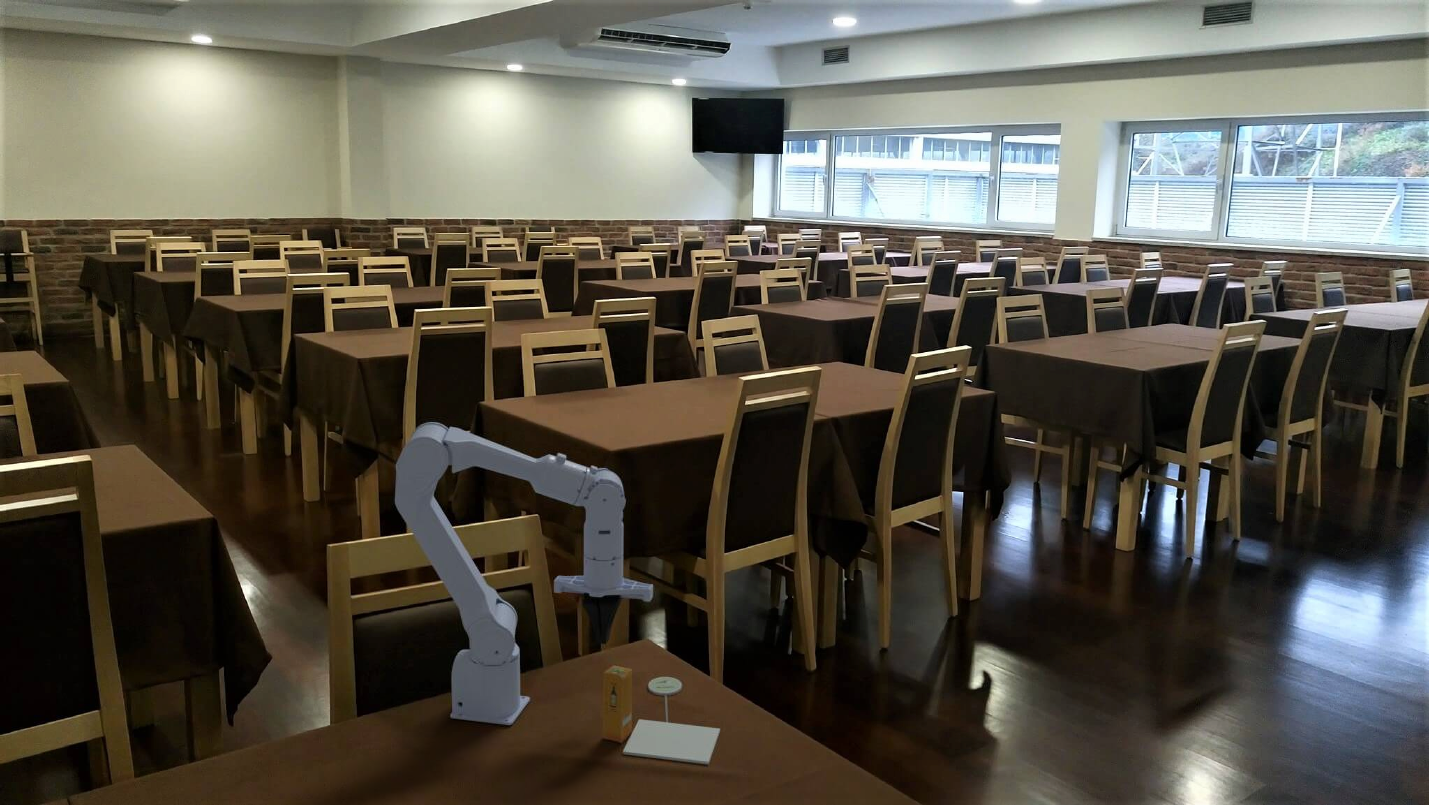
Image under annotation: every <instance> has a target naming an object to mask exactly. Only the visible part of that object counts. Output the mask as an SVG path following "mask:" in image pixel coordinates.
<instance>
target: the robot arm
mask: <svg viewBox="0 0 1429 805" xmlns="http://www.w3.org/2000/svg"><path fill="white" fill-rule="evenodd" d="M396 461H397V462H396V463H395V471H396V474H395V493H394V494H395V495H394V504H395V506H396V510H397V511H398V513H399V514H400V515H401V518H402V519H403V520H404V522H405V523H406V525H407V527H408V528H409V529H408V530H410V531H411V533H412V535H413V537H414V538H415V540H416V541H417V543H418V545H419V546H420V548H421V550H422V552H423V553H424V554H425V556H426V558H427V560H428V561H429V562H430V564H431V565H432V567H433V569H434V570H435V572H436V573H437V575H438V578H440V580H441V582H442V583H443V585H444V586H445V588H446V590H447V591H448V593H449V595H450V596H451V598H452V600H453V601H454V603H455V604H456V606H457V607H458V610H459V614H460V617H461V623H462V626H463V628H464V631H465V632H466V634H467V636H468V638H469V649H462V650H460V651H459V652H458V653H457V655H456V656H455V659H454V661H453V664H452V670H451V703H452V708H451V709H452V711H451V713H450V719H457V720H464V721H472V722H479V723H489V724H497V725H507V726H511V725H513V724H514V723H515V721H516V720H517V718H518V717H519V716H520V714H521V713H522V712H523V710H524V709H525V707H526V706H527V705H528V703H529V702H530V701H531V698H530V696H525V695H521V669H520V668H521V667H520V666H521V665H520V663H521V662H520V661H521V660H520V658H521V657H520V647H519V646H518V644H517V643H516V639H515V637H516V636H515V635H516V628H517V625H518V614H517V611H516V609H515V608H514V606H513V605H511V603H509V602H507V601H506V600H504V599H502V598H501V597H500V595H499V594H498V592H497V590H496V589H494V588H493V587H491V586H490V585H488V584H487V582H486V580H485V578H484V576H483V575H482V574H481V572H480V571H479V569H478V567H477V566H476V564H475V562H474V561H473V559H472V557H471V556H470V554H469V552H468V550H467V549H466V548H465V546H464V544H463V543H462V541H461V539H460V537H459V536H458V534H457V533H456V531H455V529H454V527H453V526H452V524H451V523H450V521H449V519H448V518H447V516H446V514H445V513H444V511H443V510H442V509H443V508H441V506H440V505H439V503H438V501H437V500H436V498H435V494H434V493H435V491H436V488H437V484H438V481H439V480H440V479H441V478H442V476H443V475H444V474H445V472H446V471H447V469H448V466H451V473H452V474H455V473H458V472H460V471H463V470H466V469H467V470H468V469H469V468H472V467H479V468H482V469H485V470H489V471H493V472H496V473H499V474H504V475H506V476H510V477H513V478H517V479H520V480H525V481H528V482H529V483H530V485H531V486H532V488H533V490H534V492H535V493H537V494H540V495H542V496H546V497H547V498H551V499H555V500H558V501H560V502H564V503H568V504H569V505H573V506H576V507H584V509H585V521H584V524H583V575H570V576H569V575H567V576H565V575H558V576H556V578H555V579H553V592H554V593H555V594H556V593H557V594H561V593H563V592H564V593H573V594H574V593H575V594H583V599H582V601H581V604H582V608H583V609H584V610H585V612H586V614H587V616H588V618H589V619H590V622H591V625H592V629H593V631H594V632H593V633H594V635H595V640H596V644H599V645H600V644H602V645H606V644H607V643H608V642H609V640H610V636H611V630H612V627H613V623H614V620H615V617H616V614H617V612H618V610H619V608H620V605H621V602H622V600H623V598H625V599H636V600H637V599H638V600H642V601H643V602H646V603H647V602H648V603H650V602H651V600H652V599H653V597H654V584H650V583H643V582H640V581H637V580H631V579H628V578H624V522H623V518H624V512H623V510H624V509H625V507H626V503H627V502H626V501H627V500H626V497H625V491H624V485H623V483H622V480H621V478H620V477H619V476H618V475H617V474H616V473H615V472H614V471H611V470H609V468H606V467H599V468H598V467H597V466H595V465H591V466H590V467H588V466H586V465H585V466H584V465H581V464H578V463H576V462H573V461H570V460H567V455H566V454H563V453H560V452H558V453H557V454H556V455H552V454H547V455H544V456H541V457H540V458H535V457H532V456H529V455H527V454H525V453H521V452H520V451H517V450H514V449H511V448H510V447H507V446H504V445H502V444H499V443H496V442H493V441H491V440H489V439H486V438H483V437H481V436H479V435H475V434H473V433H471V432H469V431H466V430H463V429H462V428H459V427H453V426H450V427H449V428H448V426H445V424H442V423H440V422H432V421H430V422H425V423H422V424H420V425H418V426H417V427H415V429H414V430H413V431H412V433H411V435H410V437H409V440H408V442H407V443H406V444H405V446H404V447H403V448H402V451H401V453H400V455H399V457H398V459H397V460H396Z"/></svg>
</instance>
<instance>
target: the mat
mask: <svg viewBox="0 0 1429 805" xmlns="http://www.w3.org/2000/svg"><path fill="white" fill-rule="evenodd" d="M720 732H721V728H717V727H710V726H700V725H699V726H698V725H692V724H684V723H673V722H668V723H667V722H666V721H657V720H647V719H638V721H637V723H636V725H635V726H634V728H633V729H632V733H631V735H630V736H629V737H628V740H627V743H626V745H625V747H624V748H623V751H622V755H629V756H635V757H644V758H645V757H646V758H651V759H652V758H654V759H660V760H661V759H662V760H669V761H677V762H684V763H685V762H686V763H692V764H694V763H695V764H701V765H710V762H711V759H712V755H713V752H714V750H715V747H716V743H717V741H718V739H719V735H720Z"/></svg>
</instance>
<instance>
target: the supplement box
mask: <svg viewBox="0 0 1429 805" xmlns="http://www.w3.org/2000/svg"><path fill="white" fill-rule="evenodd" d="M602 694H603V696H602V698H603V699H602V705H603V706H602V707H603V708H602V738H603V739H605V740H609V741H613V742H618V743H620V744H622V743H623V742H625V741H626V740H627V739H629V738H630V736H631V734H632V732H633V729H632V728H633V727H632V724H633V721H632V719H633V668H628V667H623V666H618V665H612V666H610V667H609V668H607V670H605V671H604V672H603V691H602Z"/></svg>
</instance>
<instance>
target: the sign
mask: <svg viewBox="0 0 1429 805" xmlns="http://www.w3.org/2000/svg"><path fill="white" fill-rule="evenodd" d="M682 689H683V685H682V682H681V681H680V680H679V679H677V678H675V677H670V676H661V677H660V676H659V677H655V678H653V679H651V680H650V681H649V682H648V691H649V692H650V693H652V694H654V695H658V696H662V697H663V696H664V711H665V712H664V713H665V722H667V723H669V718H668V714H669V712H668V696H674V695H675V694H679V693H680V692H681V691H682Z"/></svg>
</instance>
